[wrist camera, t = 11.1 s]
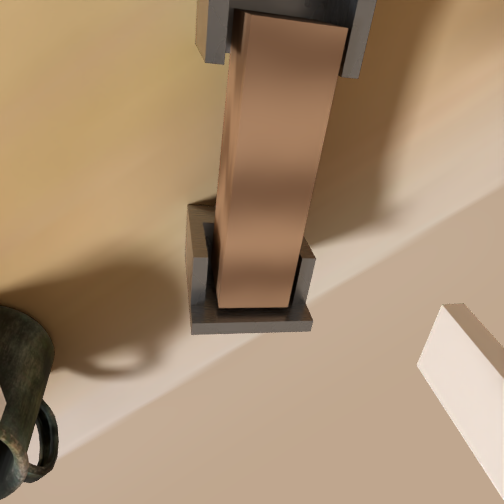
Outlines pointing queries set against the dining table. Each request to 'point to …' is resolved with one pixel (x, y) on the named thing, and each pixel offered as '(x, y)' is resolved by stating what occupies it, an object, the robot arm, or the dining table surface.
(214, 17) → the bracket
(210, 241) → the bracket
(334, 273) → the dining table surface
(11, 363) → the mug
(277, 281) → the rail
